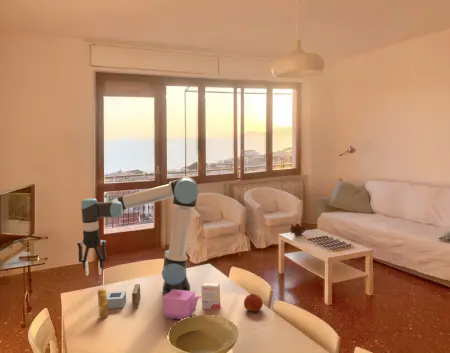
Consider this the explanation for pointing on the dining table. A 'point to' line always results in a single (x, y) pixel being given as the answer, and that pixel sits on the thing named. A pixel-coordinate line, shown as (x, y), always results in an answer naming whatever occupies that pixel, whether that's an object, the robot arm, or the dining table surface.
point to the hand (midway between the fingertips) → (93, 274)
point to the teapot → (179, 304)
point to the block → (116, 299)
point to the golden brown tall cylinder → (102, 303)
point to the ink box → (210, 295)
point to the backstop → (136, 296)
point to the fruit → (253, 302)
